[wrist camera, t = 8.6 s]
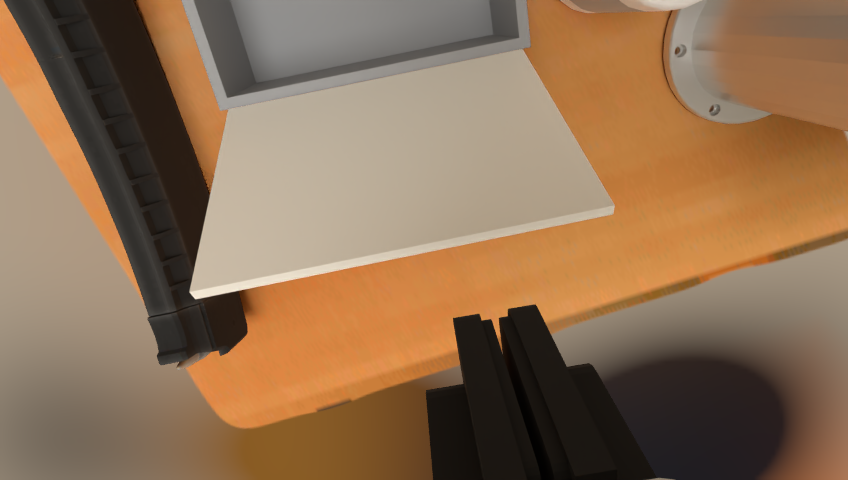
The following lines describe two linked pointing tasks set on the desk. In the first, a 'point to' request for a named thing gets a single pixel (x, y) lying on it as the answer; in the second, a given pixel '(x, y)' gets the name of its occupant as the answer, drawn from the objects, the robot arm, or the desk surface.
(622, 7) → the spray bottle
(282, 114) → the carton flap
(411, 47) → the carton
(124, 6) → the magazine
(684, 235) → the desk surface
